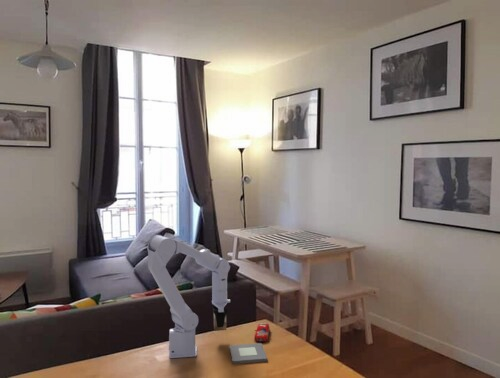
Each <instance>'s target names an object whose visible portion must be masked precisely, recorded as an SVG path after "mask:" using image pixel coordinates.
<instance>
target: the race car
mask: <svg viewBox="0 0 500 378" xmlns="http://www.w3.org/2000/svg"><path fill="white" fill-rule="evenodd" d="M270 330H271V329H270V324H269V323H267V322H260V323H258V325H257V326H256V329H255V330H254V331H255V334H254V341H255V342H258V343H264V342H268V341H269V338H270V337H269V336H270V332H271V331H270Z"/></svg>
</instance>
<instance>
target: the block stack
mask: <svg viewBox="0 0 500 378" xmlns="http://www.w3.org/2000/svg"><path fill="white" fill-rule="evenodd" d="M213 330H214V331H215V332H216V331H217V332H218V331H227V315H226V316H225V321H224V326H223V327H217V322H216V317H215V314H214V313H213Z"/></svg>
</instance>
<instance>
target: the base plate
mask: <svg viewBox="0 0 500 378" xmlns="http://www.w3.org/2000/svg"><path fill="white" fill-rule="evenodd" d="M262 343H263V342H258V343H257V342H256V343H246V344H245V343H244V344H232V345H229V352H230V357H231V363H232V365H236V364H237V365H238V364H248V363H249V364H251V363H262V362H263V363H264V362H268V356H267V353H266V351H265V349H264V347H263V346H264V345H263V344H262Z"/></svg>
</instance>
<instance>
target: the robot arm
mask: <svg viewBox="0 0 500 378" xmlns="http://www.w3.org/2000/svg"><path fill="white" fill-rule="evenodd" d="M146 249H147V252H148V253H147V268H148V271H149V272H150V274H151V275H152V278H153V279H154V281H155V282H156V284H157V285H158V286H157V287H158V288H159V289H160V291H161V293H162V295H163V296H164V298H165V300H166V302H167V304H168V305H169V307H170V309H169V311H170V313H171V320H172V321H173V323H174V328H170V329H169V335H168V351H169V359H175V358H176V359H178V358H180V359H181V358H193V357H194V358H195V357H197V356H198V351H197V350H198V347H197V345H196V328H197V327H198V324H199V319H200V318H199V316H198V315H197V314H196V313H195V312H193V311H192V309H191V308H190V307H189V306H188V304H187V303H186V302H185V300H184V298H183V297H182V295H181V293H180V291H179V290H178V287H177V286H176V284H175V282H174V280H173V278H172V276H171V275H170V273H169V271H168V269H167V268H166V266H167V264H168V263H169V261H170V260H171V258H172V257H173V255H174V254H175V255H177V254H179V253H181V254H183V255H184V256H187V257H191V258H193V259H194V260H195V263H196V264H197V265H200V266H201V267H203V268H205V269H207V270H210V271H211V275H212V276H211V285H212V286H211V293H212V294H211V296H212V297H211V299H212V300H211V306H212V312H213V315H214V314H215V317H216V322H217V327H223V326H224V321H225V316H226V317H227V314H228V311H229V309H228V308H227V307H226V306H227V304H230V303H231V299H228V274H229V272H230V270H231V265H230V264H229V261H228V260H227V259H225V258H222V257H221V256H220V255H219V254H214V253H212V252H211V250H210V249H208V248H205V249H200V250H198V249H196V248H194V247H192V246H191V245H188V244H186V243H185V242H183V241H181V240H177V239H175V238H174V239H173V238H171V237H167V236H166V237H165V236H164V235H161V234H155V235H154V236H151V238H150V240H149V242H148V244H147V246H146Z"/></svg>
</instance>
